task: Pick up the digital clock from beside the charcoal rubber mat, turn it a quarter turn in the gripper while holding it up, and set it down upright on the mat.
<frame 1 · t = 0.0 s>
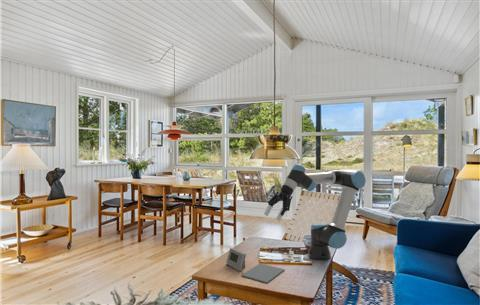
hand: (271, 217, 194), 36 cm above the table, tool tilted 35°, fingers open, 13 cm apart
digital clock: (236, 267, 211), on the table
mat: (263, 273, 200), on the table
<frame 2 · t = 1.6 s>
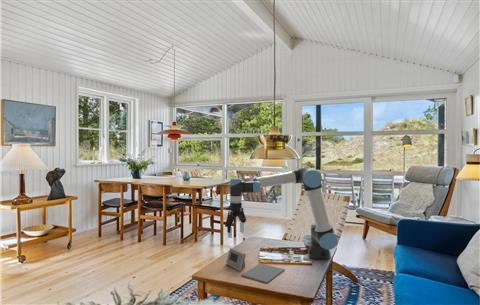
hand: (236, 234, 210), 21 cm above the table, tool pointing down, fingers open, 13 cm apart
nothing on the table moved.
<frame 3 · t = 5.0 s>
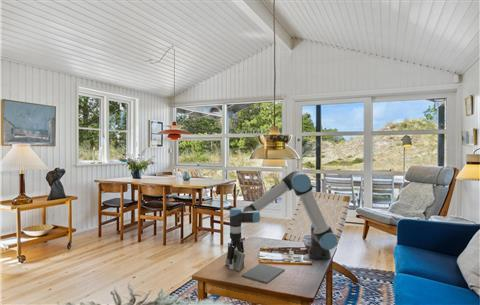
hand: (235, 266, 211), 0 cm above the table, tool pointing down, fingers closed on digital clock, 8 cm apart
digital clock: (235, 267, 211), on the table, touching gripper
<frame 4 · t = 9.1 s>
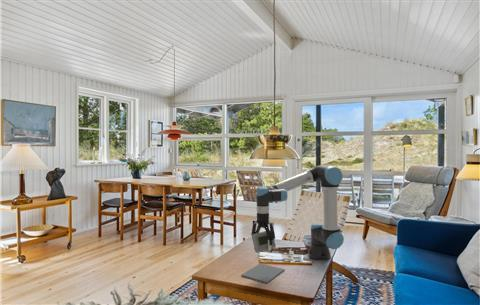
hand: (263, 248, 200), 15 cm above the table, tool pointing down, fingers closed on digital clock, 8 cm apart
digital clock: (264, 250, 199), point 15 cm above the table, touching gripper
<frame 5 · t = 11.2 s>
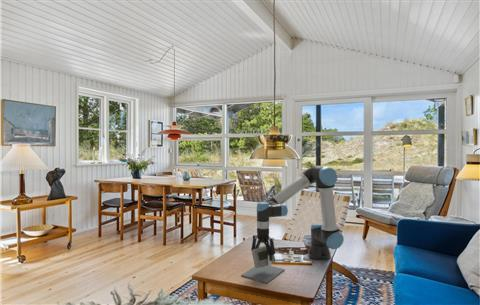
hand: (263, 263, 200), 6 cm above the table, tool pointing down, fingers closed on digital clock, 8 cm apart
digital clock: (263, 265, 200), point 5 cm above the table, touching gripper
when the fingers open (2 cm above the table, at t = 13.0 s): digital clock drops 1 cm, resting on mat.
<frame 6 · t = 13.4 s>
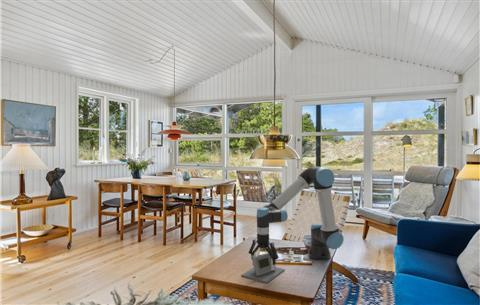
hand: (263, 267, 200), 4 cm above the table, tool pointing down, fingers open, 13 cm apart
digital clock: (264, 272, 200), point 1 cm above the table, touching mat
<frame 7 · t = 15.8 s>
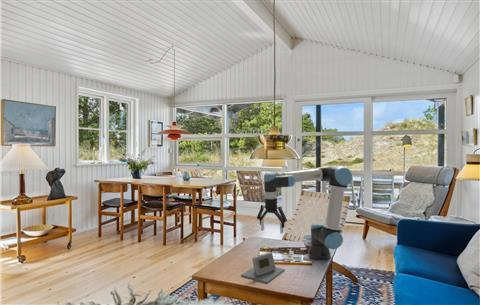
hand: (272, 231, 203), 25 cm above the table, tool pointing down, fingers open, 13 cm apart
nothing on the table moved.
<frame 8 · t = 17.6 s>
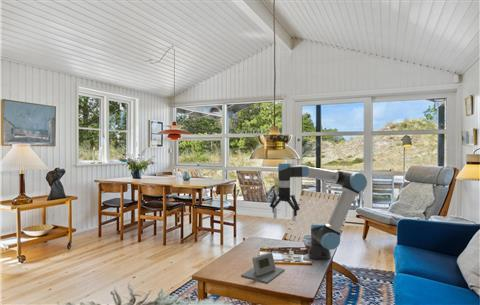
hand: (284, 219, 210), 31 cm above the table, tool pointing down, fingers open, 13 cm apart
nothing on the table moved.
at the end: digital clock inside the target area (0.7 cm from its centre), point 0.6 cm above the table; digital clock tilted 0°; digital clock touching mat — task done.
